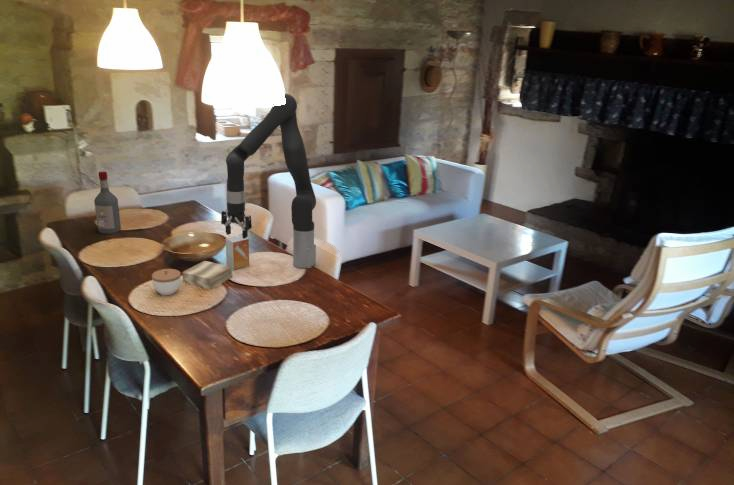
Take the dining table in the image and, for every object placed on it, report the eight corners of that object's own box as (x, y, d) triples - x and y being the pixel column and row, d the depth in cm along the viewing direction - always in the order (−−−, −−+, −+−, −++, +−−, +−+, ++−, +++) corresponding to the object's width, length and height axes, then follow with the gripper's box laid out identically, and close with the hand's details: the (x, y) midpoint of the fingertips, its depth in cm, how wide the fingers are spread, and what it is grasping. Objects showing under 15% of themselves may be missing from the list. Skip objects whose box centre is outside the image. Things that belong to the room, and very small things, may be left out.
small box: (233, 270, 250) (232, 242, 245) (226, 265, 254) (225, 238, 249) (249, 266, 255) (249, 238, 250) (242, 261, 259) (241, 234, 255)
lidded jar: (152, 299, 221) (150, 276, 218) (154, 287, 231) (152, 265, 227) (181, 296, 224) (180, 274, 221) (182, 285, 234) (180, 264, 230)
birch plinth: (232, 277, 243) (231, 267, 242) (210, 290, 231) (210, 279, 229) (205, 271, 248) (204, 260, 247) (183, 283, 236) (182, 272, 235)
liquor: (113, 234, 283) (105, 175, 273) (95, 232, 284) (88, 173, 274) (123, 228, 292) (116, 171, 281) (106, 227, 293) (99, 169, 282)
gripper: (255, 201, 244) (255, 236, 250) (227, 195, 250) (228, 230, 256) (244, 205, 238) (244, 242, 244) (216, 199, 243) (217, 235, 249)
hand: (236, 236), depth 250 cm, fingers open, 8 cm apart
